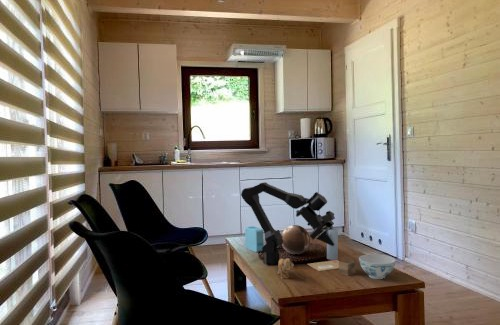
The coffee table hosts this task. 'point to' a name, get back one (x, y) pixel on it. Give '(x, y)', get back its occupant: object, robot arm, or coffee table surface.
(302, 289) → the coffee table surface
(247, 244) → the data package
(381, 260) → the chinaware
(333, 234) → the grey cylinder
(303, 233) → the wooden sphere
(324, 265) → the envelope
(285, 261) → the lion figurine
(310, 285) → the coffee table surface
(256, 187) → the robot arm
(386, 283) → the coffee table surface
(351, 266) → the walnut block
